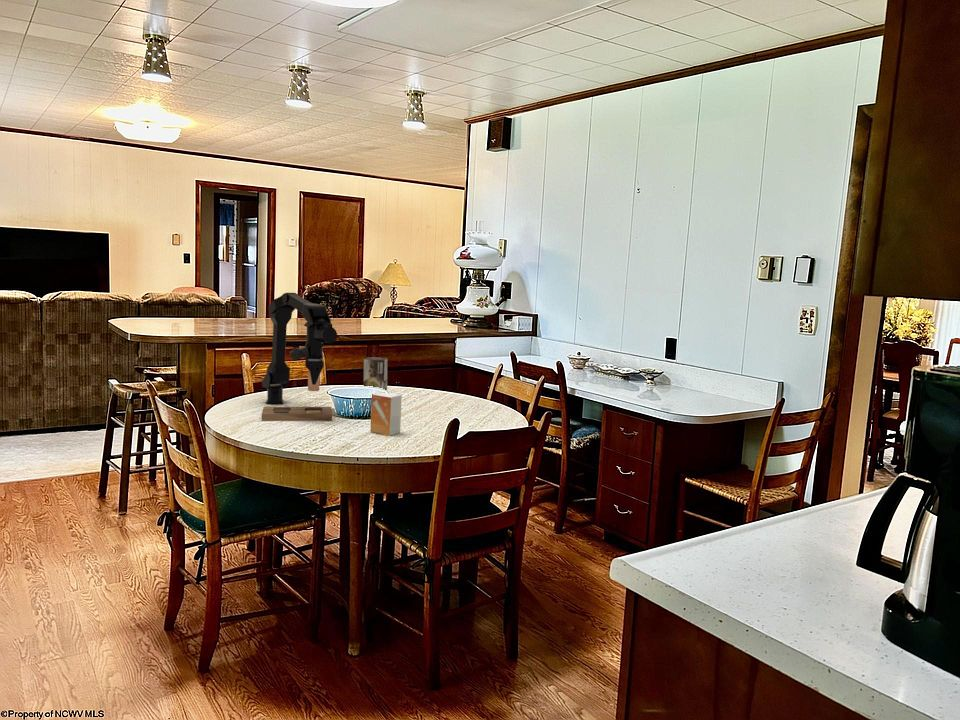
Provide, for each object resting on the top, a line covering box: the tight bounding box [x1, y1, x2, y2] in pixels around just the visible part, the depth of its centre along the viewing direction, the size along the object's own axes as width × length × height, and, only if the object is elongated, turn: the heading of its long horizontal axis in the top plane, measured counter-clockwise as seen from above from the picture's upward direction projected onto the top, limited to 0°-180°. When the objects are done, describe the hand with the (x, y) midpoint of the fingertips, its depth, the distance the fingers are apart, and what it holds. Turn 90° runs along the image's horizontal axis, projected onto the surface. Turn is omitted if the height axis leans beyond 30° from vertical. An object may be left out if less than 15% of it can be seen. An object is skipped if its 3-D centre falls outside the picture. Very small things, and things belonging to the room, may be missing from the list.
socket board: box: [261, 406, 333, 422], centre depth 264 cm, size 12×24×3 cm, turn 103°
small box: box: [370, 392, 403, 437], centre depth 247 cm, size 8×6×13 cm
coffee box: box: [363, 356, 389, 391], centre depth 310 cm, size 9×6×16 cm
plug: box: [307, 368, 321, 392], centre depth 265 cm, size 4×4×8 cm
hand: (313, 383), depth 265 cm, fingers closed on plug, 4 cm apart
